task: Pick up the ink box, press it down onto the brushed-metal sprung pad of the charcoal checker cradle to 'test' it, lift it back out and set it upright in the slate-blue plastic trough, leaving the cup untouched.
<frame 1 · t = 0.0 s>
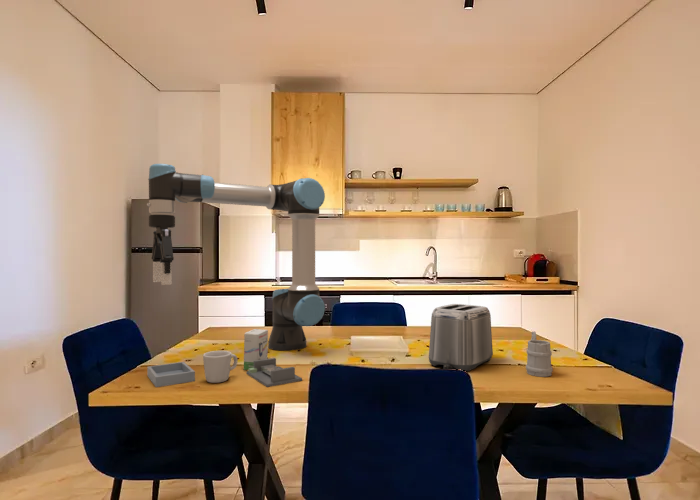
hand: (162, 283, 136), 28 cm above the table, fingers open, 13 cm apart
checker pad: (273, 370, 132), point 2 cm above the table, slide at -0.7 cm
cup: (221, 380, 130), on the table
ink box: (255, 367, 144), on the table
toaster: (459, 364, 148), on the table
cradle: (273, 377, 132), on the table
mug: (537, 372, 138), on the table
trough: (170, 378, 131), on the table
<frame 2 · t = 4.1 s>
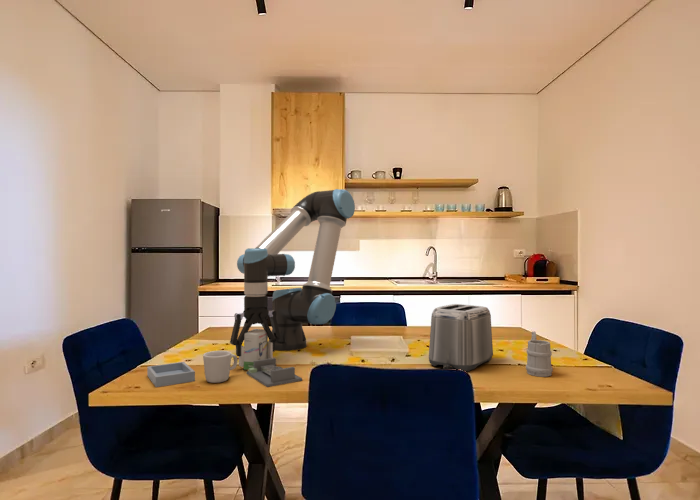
hand: (255, 363, 144), 1 cm above the table, fingers closed on ink box, 9 cm apart
ink box: (255, 367, 144), on the table, touching gripper
everything else where it was.
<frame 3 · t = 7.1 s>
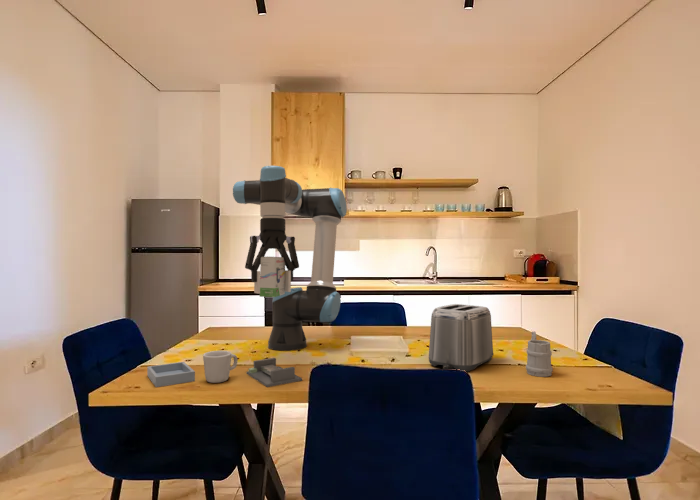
hand: (272, 292, 132), 26 cm above the table, fingers closed on ink box, 9 cm apart
ink box: (272, 296, 132), point 24 cm above the table, touching gripper
everything else where it was.
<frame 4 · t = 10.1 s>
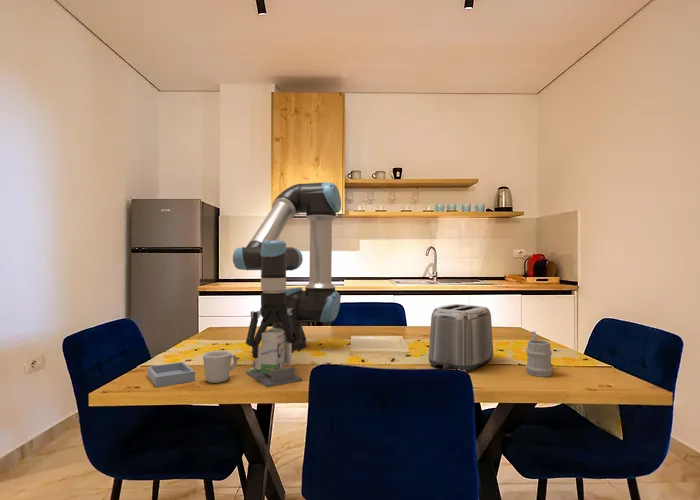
hand: (273, 366, 132), 3 cm above the table, fingers closed on ink box, 9 cm apart
checker pad: (273, 371, 132), point 2 cm above the table, slide at -1.0 cm, touching ink box
ink box: (273, 370, 132), point 2 cm above the table, touching checker pad, gripper
everything else where it was.
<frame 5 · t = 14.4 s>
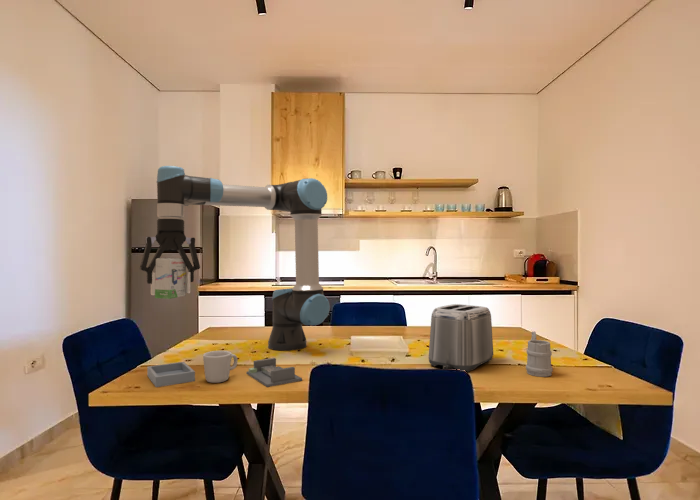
hand: (170, 293, 131), 25 cm above the table, fingers closed on ink box, 9 cm apart
checker pad: (273, 371, 132), point 2 cm above the table, slide at -1.0 cm
ink box: (170, 298, 131), point 24 cm above the table, touching gripper
everything else where it was.
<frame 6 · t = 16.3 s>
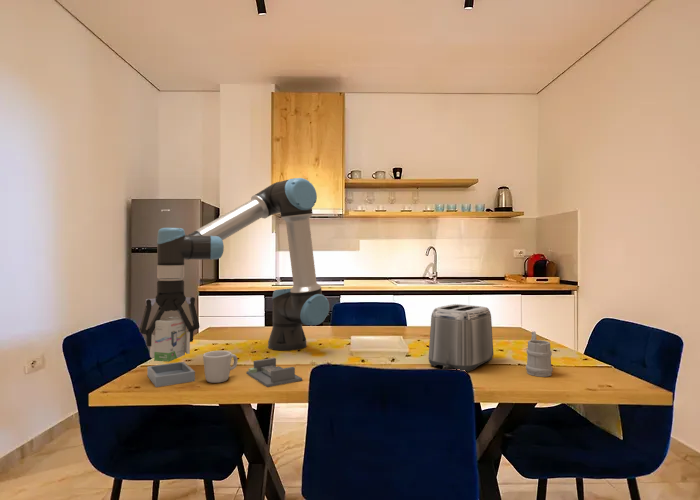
hand: (170, 354, 131), 7 cm above the table, fingers closed on ink box, 9 cm apart
ink box: (170, 359, 131), point 6 cm above the table, touching gripper
everything else where it was.
when the fingers open (4 cm above the table, at t = 17.7 s): ink box stays where it is, resting on trough.
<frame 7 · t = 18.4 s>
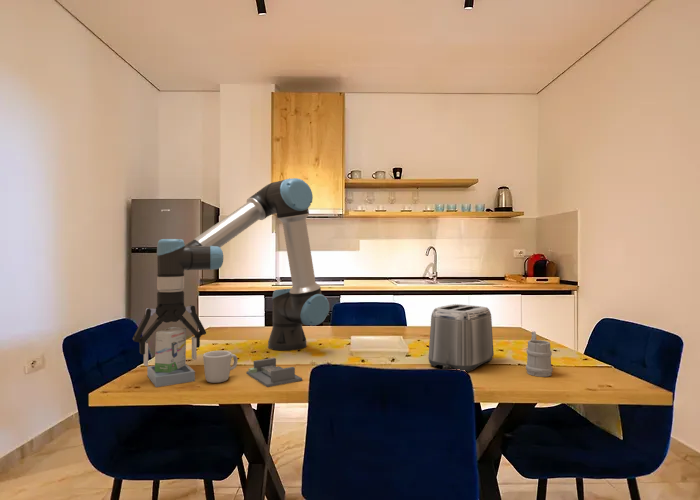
hand: (170, 361, 131), 5 cm above the table, fingers open, 13 cm apart
ink box: (170, 369, 131), point 3 cm above the table, touching trough
everything else where it was.
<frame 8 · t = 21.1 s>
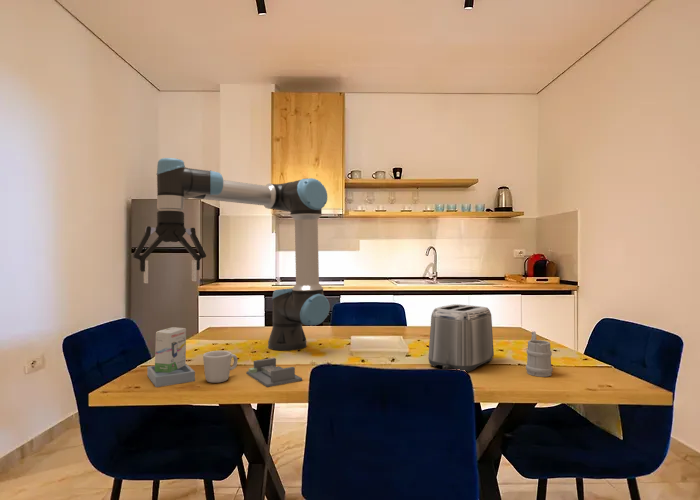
hand: (170, 282, 131), 29 cm above the table, fingers open, 13 cm apart
nothing on the table moved.
at the end: ink box inside the target area on the trough (0.1 cm from its centre), point 2.6 cm above the trough's base; ink box tilted 0°; the gripper is holding nothing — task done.
